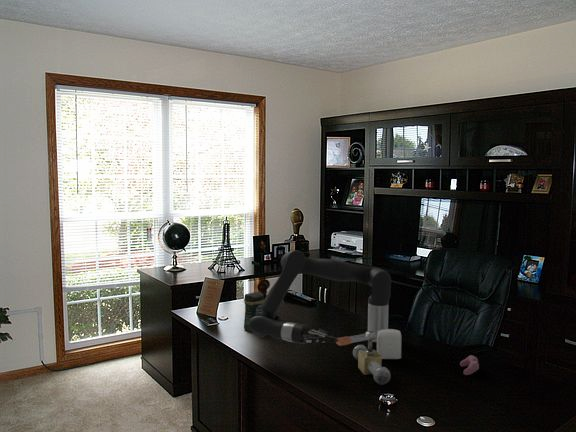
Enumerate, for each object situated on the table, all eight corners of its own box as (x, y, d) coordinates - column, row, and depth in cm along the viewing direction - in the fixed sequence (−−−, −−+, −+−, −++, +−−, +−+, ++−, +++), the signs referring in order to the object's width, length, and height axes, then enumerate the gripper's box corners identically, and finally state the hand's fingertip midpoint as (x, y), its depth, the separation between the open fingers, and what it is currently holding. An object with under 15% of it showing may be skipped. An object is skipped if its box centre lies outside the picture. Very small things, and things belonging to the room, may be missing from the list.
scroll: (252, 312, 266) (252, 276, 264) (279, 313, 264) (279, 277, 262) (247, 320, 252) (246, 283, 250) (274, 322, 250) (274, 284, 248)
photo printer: (377, 359, 201) (378, 331, 200) (375, 355, 205) (376, 327, 204) (402, 360, 201) (402, 331, 200) (399, 356, 205) (400, 327, 204)
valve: (351, 360, 201) (352, 330, 199) (367, 358, 202) (368, 329, 201) (373, 385, 177) (374, 352, 176) (391, 383, 179) (392, 351, 177)
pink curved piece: (473, 380, 186) (482, 365, 184) (462, 374, 186) (471, 359, 185) (469, 369, 195) (477, 355, 194) (458, 364, 196) (467, 349, 195)
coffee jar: (252, 333, 232) (252, 295, 230) (241, 329, 237) (241, 293, 236) (266, 328, 239) (266, 292, 237) (255, 325, 245) (255, 289, 243)
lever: (371, 336, 192) (371, 330, 191) (376, 339, 188) (376, 333, 188) (335, 343, 184) (335, 336, 184) (340, 346, 181) (340, 339, 181)
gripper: (286, 328, 186) (328, 336, 178) (302, 319, 198) (341, 325, 190) (286, 347, 187) (327, 355, 179) (302, 336, 199) (341, 344, 191)
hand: (334, 340), depth 184 cm, fingers closed
